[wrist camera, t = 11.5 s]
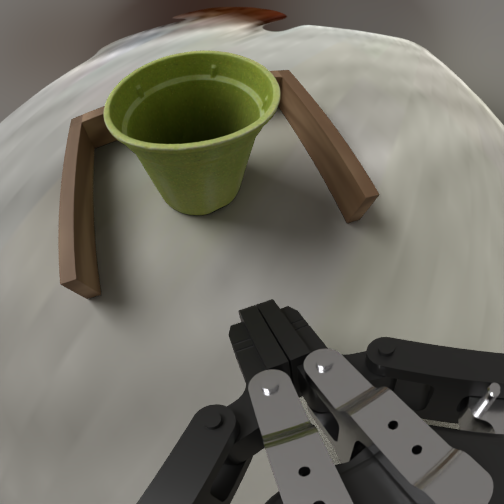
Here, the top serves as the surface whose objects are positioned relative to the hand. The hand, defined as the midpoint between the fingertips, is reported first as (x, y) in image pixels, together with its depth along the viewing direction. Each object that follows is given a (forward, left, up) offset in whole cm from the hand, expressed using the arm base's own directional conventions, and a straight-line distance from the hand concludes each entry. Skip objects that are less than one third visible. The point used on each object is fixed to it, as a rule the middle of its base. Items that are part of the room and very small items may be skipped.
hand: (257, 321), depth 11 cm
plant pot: (0, +11, -5) cm, 13 cm away
